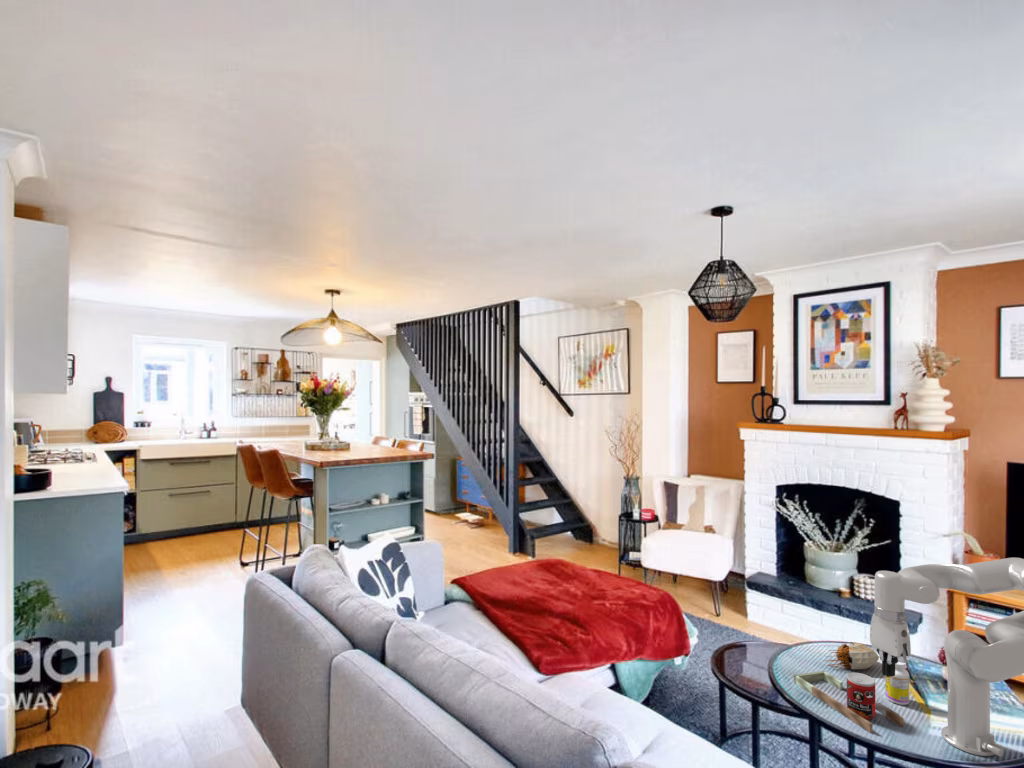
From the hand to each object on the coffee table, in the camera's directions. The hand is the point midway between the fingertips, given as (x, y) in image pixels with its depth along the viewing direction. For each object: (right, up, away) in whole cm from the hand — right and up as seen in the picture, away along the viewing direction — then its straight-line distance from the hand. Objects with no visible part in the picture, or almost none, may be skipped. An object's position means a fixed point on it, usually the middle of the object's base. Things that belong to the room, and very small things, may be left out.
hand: (888, 675), depth 166 cm
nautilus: (+13, -18, +41) cm, 47 cm away
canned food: (-3, -17, +9) cm, 20 cm away
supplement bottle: (+14, -18, +17) cm, 28 cm away
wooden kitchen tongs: (-2, -17, +16) cm, 23 cm away
